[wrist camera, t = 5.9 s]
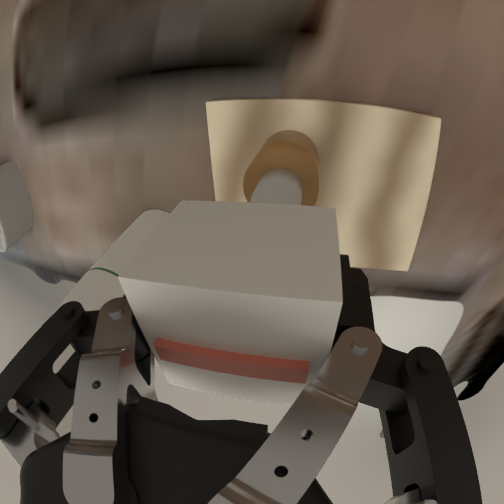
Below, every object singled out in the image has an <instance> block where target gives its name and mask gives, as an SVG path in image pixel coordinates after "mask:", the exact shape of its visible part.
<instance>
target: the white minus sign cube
mask: <svg viewBox="0 0 504 504" xmlns="http://www.w3.org/2000/svg"><path fill="white" fill-rule="evenodd" d="M118 279H119V281H120V283H121V286H122V288H123V291H124V293H125V295H126V298H127V300H128V302H129V304H130V307H131V309H132V311H133V313H134V316H135V318H136V320H137V322H138V324H139V326H140V328H141V330H142V332H143V334H144V337H145V339H146V341H147V343H148V345H149V347H150V348H151V350H152V352H153V354H154V356H155V358H156V360H157V362H158V364H159V365H160V367H161V369H162V371H163V373H164V375H165V376H166V378H167V380H168V382H169V383H170V384H173V385H177V386H181V387H185V388H189V389H194V390H198V391H203V392H207V393H212V394H217V395H222V396H228V397H233V398H239V399H245V400H251V401H258V402H265V403H272V404H281V405H291V406H292V405H293V403H294V402H295V400H296V399H297V397H298V396H299V395H300V393H301V392H302V390H303V389H304V388H305V386H306V385H307V384H309V383H312V381H313V380H314V379H315V377H316V375H317V374H318V372H319V371H320V369H321V367H322V366H323V364H324V363H325V361H326V359H327V358H328V356H329V354H330V351H331V347H332V344H333V340H334V336H335V332H336V328H337V324H338V320H339V316H340V312H341V308H342V304H343V295H342V277H341V263H340V250H339V239H338V228H337V219H336V210H335V208H332V207H319V206H305V205H289V204H271V203H250V202H223V201H181V202H180V203H179V204H178V205H177V207H176V208H175V209H174V210H173V211H172V212H171V213H170V214H169V215H168V217H167V218H166V219H165V220H164V221H163V222H162V223H161V225H160V226H159V227H158V228H157V229H156V230H155V232H154V233H153V234H152V235H151V236H150V238H149V239H148V240H147V241H146V242H145V243H144V245H143V246H142V247H141V248H140V250H139V251H138V252H137V253H136V254H135V256H134V257H133V258H132V259H131V261H130V262H129V263H128V264H127V266H126V267H125V268H124V269H123V271H122V272H121V273H120V274H119V276H118Z"/></svg>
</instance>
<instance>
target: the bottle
mask: <svg viewBox="0 0 504 504" xmlns="http://www.w3.org/2000/svg"><path fill="white" fill-rule="evenodd" d="M243 191H244V195H245V198H246V200H247V202H250V203H271V204H289V205H305V206H314V205H315V203H316V201H317V198H318V193H319V167H318V151H317V148H316V146H315V144H314V143H313V141H312V140H311V139H310V138H309V137H308V136H306V135H305V134H303V133H301V132H298V131H295V130H283V131H279V132H277V133H275V134H273V135H272V136H270V137H269V138H268V140H267V141H266V142H265V144H264V145H263V147H262V148H261V149H260V151H259V152H258V154H257V155H256V157H255V158H254V160H253V161H252V163H251V164H250V165H249V167H248V168H247V170H246V172H245V175H244V179H243Z"/></svg>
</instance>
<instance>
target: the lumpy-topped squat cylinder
mask: <svg viewBox="0 0 504 504" xmlns="http://www.w3.org/2000/svg"><path fill="white" fill-rule="evenodd" d="M32 226H33V210H32V204H31V200H30V197H29V195H28V192H27V189H26V186H25V184H24V181H23V179H22V177H21V174H20V172H19V170H18V168H17V166H16V165H15V164H14V163H13V162H12V161H8V162H6V163H4V164H3V165H1V166H0V252H6V251H7V250H8V249H9V248H10V247H11V246H12V245H13V244H14V243H15V242H17V241H18V240H19V239H20V238H21V237H22V236H23V235H24V234H26V233H27V232H28V231H29V230H30V229H31V228H32Z"/></svg>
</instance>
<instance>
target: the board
mask: <svg viewBox="0 0 504 504" xmlns="http://www.w3.org/2000/svg"><path fill="white" fill-rule="evenodd" d="M206 111H207V122H208V133H209V143H210V153H211V162H212V172H213V181H214V190H215V199H216V201H223V202H247V200H246V198H245V195H244V191H243V179H244V175H245V172H246V170H247V168H248V167H249V165H250V164H251V163H252V161H253V160H254V158H255V157H256V155H257V154H258V152H259V151H260V149H261V148H262V147H263V145H264V144H265V142H266V141H267V140H268V138H269V137H270V136H272V135H273V134H275V133H277V132H279V131H283V130H295V131H298V132H301V133H303V134H305V135H306V136H308V137H309V138H310V139H311V140H312V141H313V143H314V144H315V146H316V148H317V151H318V167H319V193H318V198H317V201H316V203H315V205H314V206H319V207H332V208H335V210H336V219H337V228H338V239H339V250H340V254H344V255H349V261H350V267H360V268H373V269H385V270H398V271H408V269H409V266H410V263H411V260H412V257H413V253H414V250H415V247H416V244H417V240H418V237H419V233H420V229H421V226H422V222H423V218H424V214H425V210H426V206H427V202H428V197H429V193H430V188H431V183H432V178H433V173H434V168H435V162H436V156H437V149H438V143H439V135H440V127H441V119H440V118H438V117H436V116H433V115H428V114H424V113H419V112H414V111H409V110H404V109H398V108H392V107H386V106H379V105H372V104H364V103H356V102H346V101H335V100H322V99H303V98H243V99H224V100H211V101H208V102H206Z"/></svg>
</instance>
